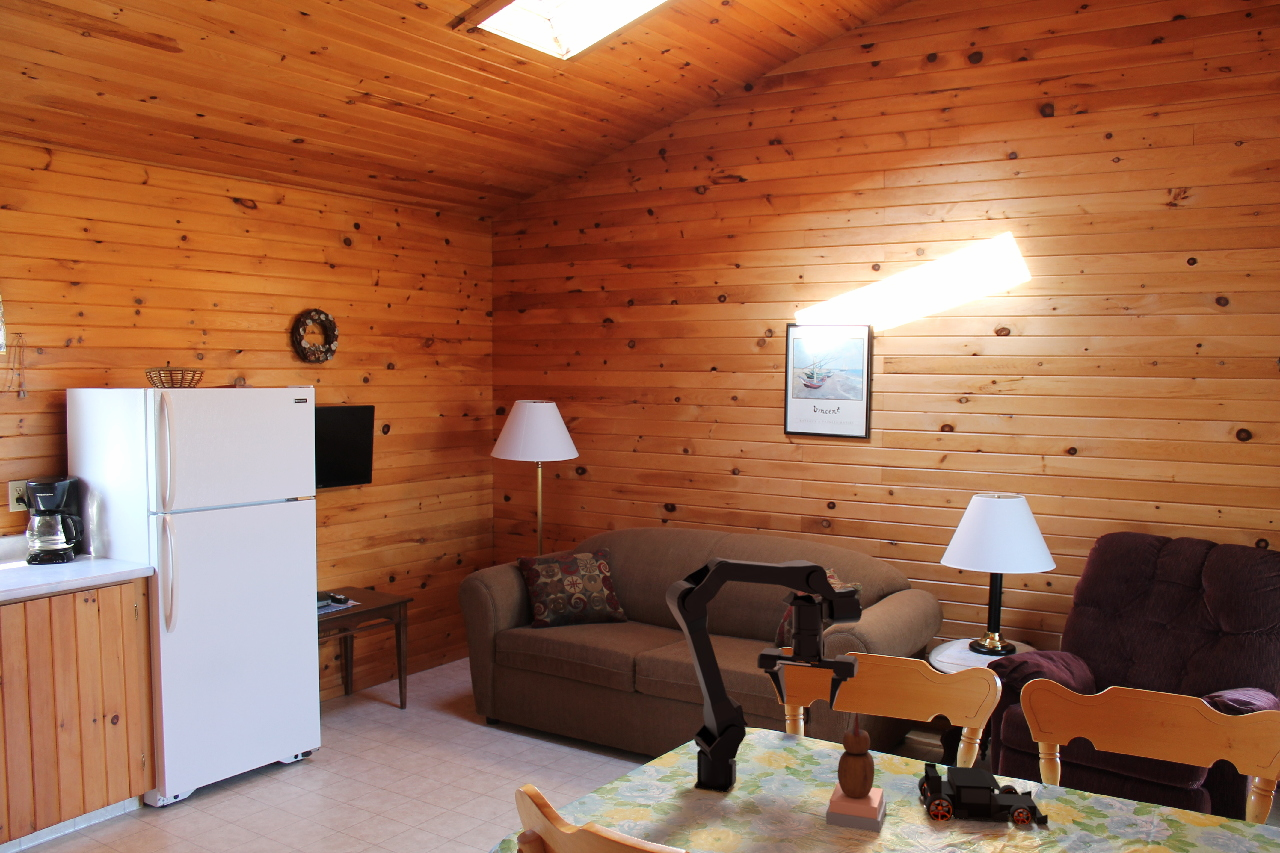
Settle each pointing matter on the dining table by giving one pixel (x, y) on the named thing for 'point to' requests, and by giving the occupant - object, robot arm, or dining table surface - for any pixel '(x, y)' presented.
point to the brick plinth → (856, 820)
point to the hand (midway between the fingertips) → (807, 706)
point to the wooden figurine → (856, 763)
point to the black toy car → (974, 797)
